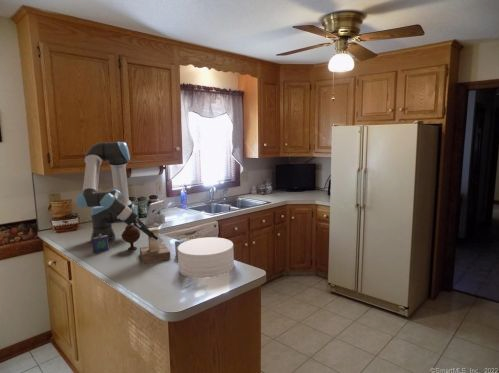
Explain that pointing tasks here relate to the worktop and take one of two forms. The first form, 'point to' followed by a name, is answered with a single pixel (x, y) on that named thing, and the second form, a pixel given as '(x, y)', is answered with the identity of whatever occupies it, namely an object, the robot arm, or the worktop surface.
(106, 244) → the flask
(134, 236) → the ice cream bowl
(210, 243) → the plate stack
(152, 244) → the maple block
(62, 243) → the worktop surface
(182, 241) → the medicine box
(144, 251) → the board
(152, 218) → the phone holder
